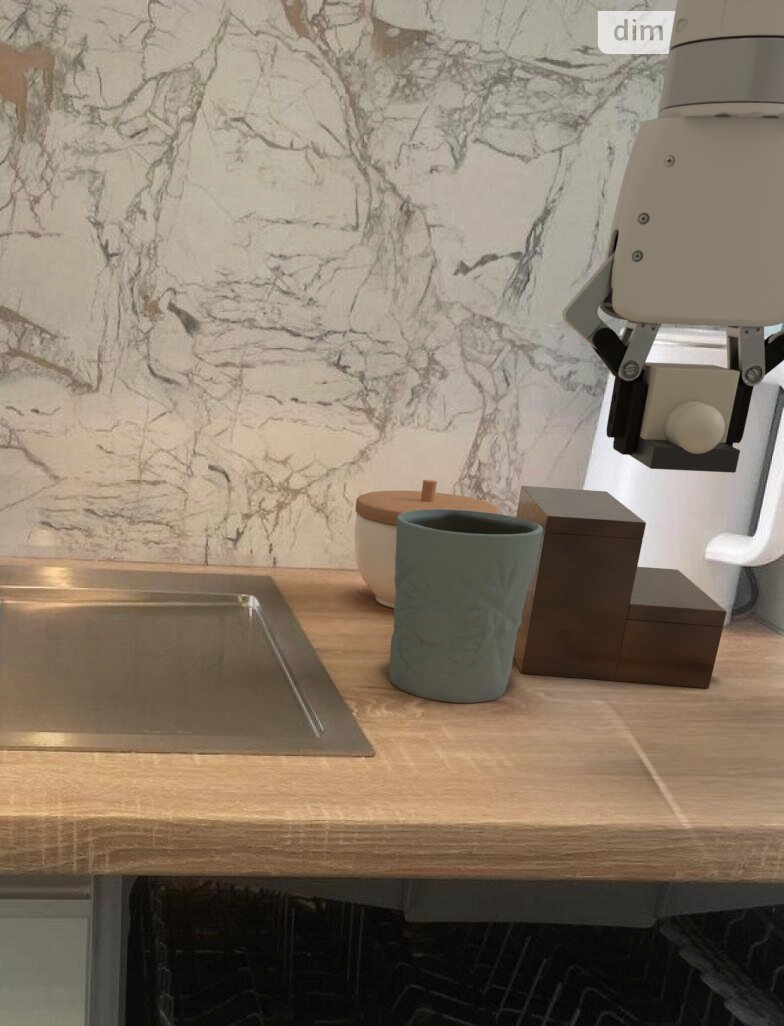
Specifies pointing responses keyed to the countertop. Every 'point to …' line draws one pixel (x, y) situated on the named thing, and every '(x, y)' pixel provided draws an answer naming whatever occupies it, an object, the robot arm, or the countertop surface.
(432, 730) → the countertop surface
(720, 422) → the cream and grey block
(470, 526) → the grey-green ceramic cup
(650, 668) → the stepped wooden block
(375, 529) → the lidded bowl
